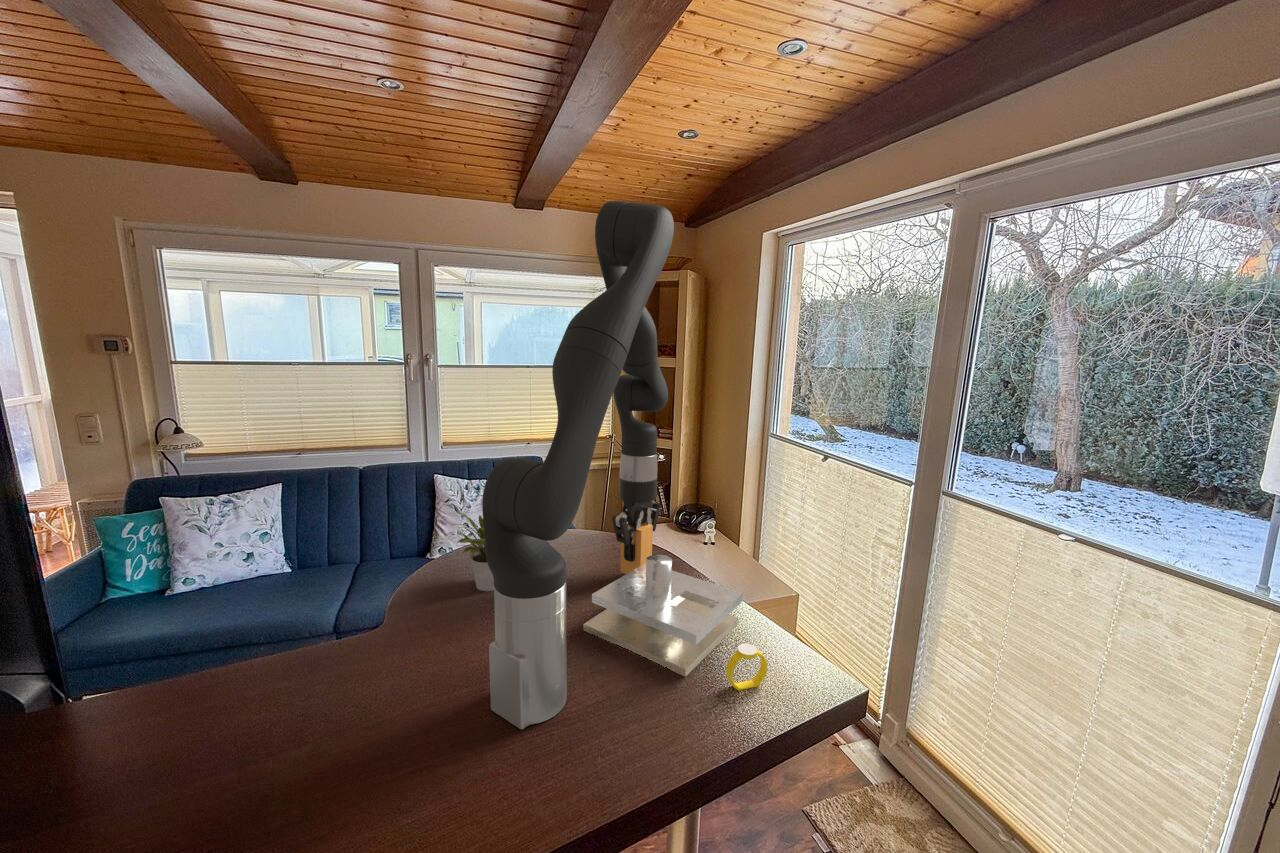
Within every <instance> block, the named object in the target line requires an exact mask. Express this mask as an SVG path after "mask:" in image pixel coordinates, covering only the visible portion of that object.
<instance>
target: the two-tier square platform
mask: <svg viewBox="0 0 1280 853" xmlns="http://www.w3.org/2000/svg"><path fill="white" fill-rule="evenodd" d="M672 566H673V559H672V557H670V556H669V555H665V554H652V555H651V556H648V557H647V558H646V563H645V564H643V565H641V566H639V567H638V568H636V569H634V570H633V571H631V572H629V573H627V574H624V575H622V576H621V577H619V578H617V579H616V580H614V581H612V582H611V583H609V584H607V585H606V586H604V587H602V588H600V589H598V590H596V591H595V592H593V593H592V594H591V603H593V604H595V605H596V606H600V607H602V608H605V610H603V611H602V612H600V613H598V614H597V615H595V616H594V617H592V618H590V619H589V620H587V621H586V622H585V623H583V624H582V625H583V626H582V627H583V629H582V630H583V632H585V631H586V632H585V633H588V634H590V635H592V634H593V636H594V635H595V636H594V637H597V636H598V637H597V638H599V639H601V638H602V639H601V640H603V639H604V640H603V641H605V640H607V641H606V642H608V641H610V642H611V643H610V642H609V643H610V644H612V643H614V644H617V645H619V646H621V647H623V648H626V649H629V650H631V651H633V652H635V653H638V654H639V655H641V656H643V657H646V658H648V659H649V660H652V661H654V662H656V663H658V664H660V665H659V666H661V665H662V666H661V667H663V666H664V667H663V668H665V667H667V668H668V670H669V669H670V671H671V672H672V671H673V672H674V673H676V674H679V675H680V676H683V677H684V678H687V676H688V675H689V674H690V673H691V672H692V671H693V670H694V669H695V668H696V667H697V666H698V665H699V664H700V663H701V662H703V660H704V659H705V658H706V657H707V656H708V655H709V654H710V653H711V652H712V651H713V650H714V649H715V648H716V647H717V646H718V645H719V644H720V643H721V642H722V641H723V640H724V639H726V637H727V635H729V634H730V633H731V632H732V631H733V630H734V629H735V628H736V627H737V626H738V624H739V617H738V616H735V615H732V614H731V613H732V612H733V611H734V610H735V609H736V608H737V607H738V606H739V605H740V604H742V602H743V598H744V593H743V592H740V591H737V590H735V589H730V588H729V587H725V586H721V585H719V584H715V583H712V582H709V581H707V580H703V579H700V578H696V577H694V576H690V575H688V574H685V573H682V572H678V571H676V570H673V567H672ZM614 644H613V645H614ZM619 646H618V647H619ZM621 647H620V648H621ZM623 648H622V649H623ZM641 656H640V657H641ZM643 657H642V658H643ZM649 660H648V661H649ZM652 661H651V662H652ZM654 662H653V663H654ZM656 663H655V664H656ZM658 664H657V665H658ZM667 668H666V669H667Z"/></svg>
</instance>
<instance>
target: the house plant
mask: <svg viewBox="0 0 1280 853" xmlns="http://www.w3.org/2000/svg"><path fill="white" fill-rule="evenodd" d="M455 513H456V514H459V515H461V516H462V517H465V519H467V521H468V522H469V523H470V524H471V526H472V527H473V528H474V529H473V528H472V527H470V526H468V525H466V524H463V523H462V524H461V523H454V524H452V526H458V527H457V529H458V528H459V529H460V528H463V529H465V530H467V531H468V532H469V533H470V534H471V536H472V537H473V538H470V537H468V536H467V535H466V534H464V533H461V532H458V534H459V535H460V536H463V538H461V539H459V540H458V541H457V542H456V544H458V543H459V544H460V545H459V547H461V546H462V547H463V546H466V548H464V550H462V554H465V553H467V552H469V551H470V552H469V556H468V558H469V559H470V563H471V568H472V572H473V577H474V582H475V587H476V589H477V590H479V591H482V592H494V578H493V574H492V572H491V570H490V568H489V566H488V563H487V558H486V549H485V537H484V525H483V516H482V515H480V514H479V516H478V524H479V527H478V526H477V525H476V524H475V521H473V519H472V518H470V517H469V516H468V515H467V514H465V513H462V512H458V511H455ZM459 526H461V527H459ZM462 526H465V527H462ZM470 529H471V530H472V531H473V532H474V533H476V535H478V537H479V538H477V536H476V535H475V534H474V533H473V532H472V531H471V530H470ZM462 543H463V544H462ZM466 543H470V545H472V546H470V545H468V544H467V545H466Z"/></svg>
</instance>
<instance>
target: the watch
mask: <svg viewBox="0 0 1280 853" xmlns="http://www.w3.org/2000/svg"><path fill="white" fill-rule="evenodd" d="M757 657H759V658H760V667H759V669H758V671H757V673H756V675H755V676H754V677H753V678H752V679H749V680H746V681H745V680H744V681H740V682H736V681H734V679H733V676H734V670H735V668H736V666H737V664H738V663H739V662H740V661H741V660H742V659H745V660H746V659H747V660H753V659H755V658H757ZM767 673H768V660H767V659H766V657H765V656H764V655H763V653H762V652H761V651H760V650H759V649H758V648H757V647H756V646H755V645H754V644H752V643H740V644H739V645H738V646H737V651H736V652H735V653H733V654H732V655H731V657H730V658H729V660H728V662H727V664H726V668H725V675H726V677H727V681H728V682H729V684H731V686H732V687H733V688H734V689H736V690H737V691H738V692H741V691H744V690H748V689H753V688H757V687H759V686H760V684H761V683H763V681H764V680H765V678H766V675H767Z"/></svg>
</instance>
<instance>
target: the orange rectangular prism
mask: <svg viewBox="0 0 1280 853" xmlns="http://www.w3.org/2000/svg"><path fill="white" fill-rule="evenodd" d="M628 525H629V524H628ZM628 527H631V528H634V527H635V526H631V525H629V526H628ZM628 532H629V531H628ZM622 536H623V535H622ZM629 537H630V538H631V532H629ZM651 555H653V525H650V524H649V525H646V523H644V524H641V525H640V529H639V530H638V533H636V541H635V560H634V561H633V562H630V561H627V560H625V558H624V543H622V542H620V564H619V565H620V569H619V570H620V571H619V572H621V573H623V574H624V575H626V574H627V573H629V572H631V571H633V570H634V569H636V568H638V567H639V566H641V565H643V564H645V563H646V558H647V557H648V556H651Z"/></svg>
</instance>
